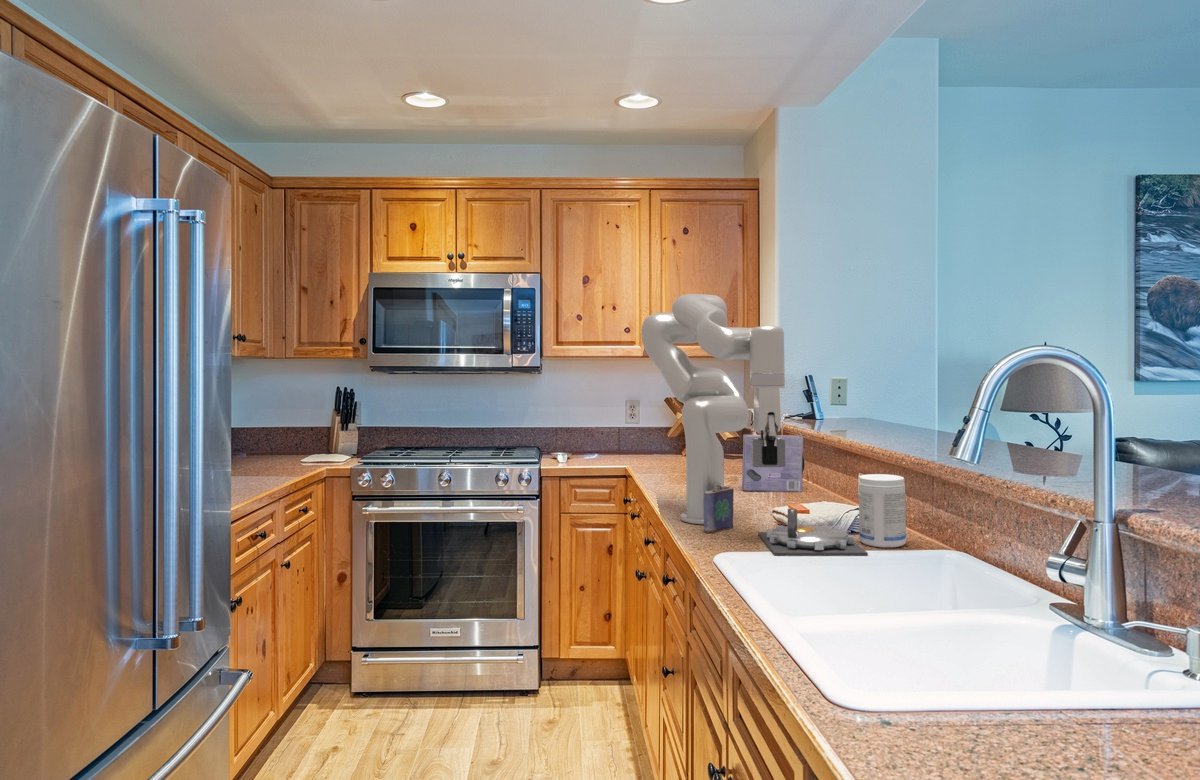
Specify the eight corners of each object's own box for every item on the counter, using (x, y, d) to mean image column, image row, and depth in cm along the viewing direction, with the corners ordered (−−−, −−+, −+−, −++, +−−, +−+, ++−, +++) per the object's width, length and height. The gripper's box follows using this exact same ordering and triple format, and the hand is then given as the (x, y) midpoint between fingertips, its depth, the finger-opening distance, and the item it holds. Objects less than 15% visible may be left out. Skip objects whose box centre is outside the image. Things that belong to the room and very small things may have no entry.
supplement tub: (906, 540, 163) (906, 474, 163) (905, 550, 155) (905, 481, 154) (860, 536, 167) (860, 472, 167) (857, 546, 158) (857, 478, 158)
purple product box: (803, 489, 232) (803, 433, 231) (806, 492, 227) (806, 435, 226) (741, 489, 234) (741, 433, 233) (743, 491, 229) (743, 435, 228)
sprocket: (760, 545, 156) (760, 510, 155) (773, 528, 172) (773, 496, 172) (851, 552, 149) (851, 516, 149) (855, 533, 165) (855, 501, 165)
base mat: (758, 534, 170) (758, 531, 170) (840, 534, 170) (840, 531, 170) (774, 555, 151) (774, 551, 151) (867, 555, 151) (867, 551, 151)
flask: (710, 533, 172) (710, 484, 171) (699, 531, 174) (699, 483, 174) (736, 527, 178) (736, 480, 178) (725, 525, 181) (725, 479, 180)
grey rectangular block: (751, 465, 166) (751, 437, 166) (782, 465, 166) (782, 437, 165) (753, 467, 163) (752, 438, 163) (785, 467, 162) (785, 438, 162)
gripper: (746, 381, 172) (747, 459, 173) (755, 382, 156) (756, 468, 156) (778, 381, 172) (779, 459, 172) (790, 381, 155) (792, 468, 156)
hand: (768, 462), depth 164 cm, fingers closed on grey rectangular block, 3 cm apart
